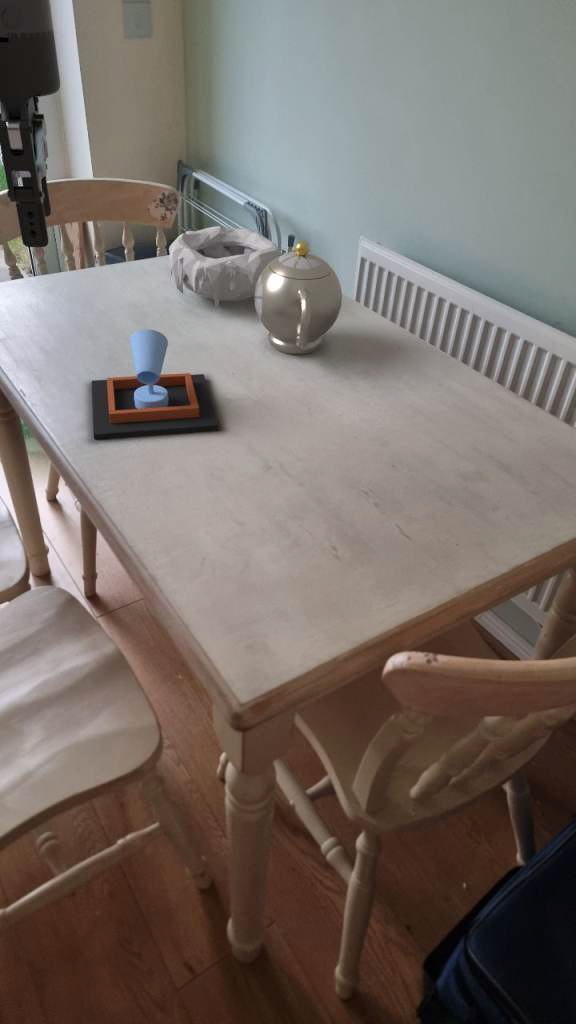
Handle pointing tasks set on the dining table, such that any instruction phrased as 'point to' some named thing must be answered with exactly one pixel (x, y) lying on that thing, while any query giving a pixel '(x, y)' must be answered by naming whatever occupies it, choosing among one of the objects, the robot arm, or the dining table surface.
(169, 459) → the dining table surface
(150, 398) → the spotlight
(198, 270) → the bowl
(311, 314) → the teapot
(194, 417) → the pad
